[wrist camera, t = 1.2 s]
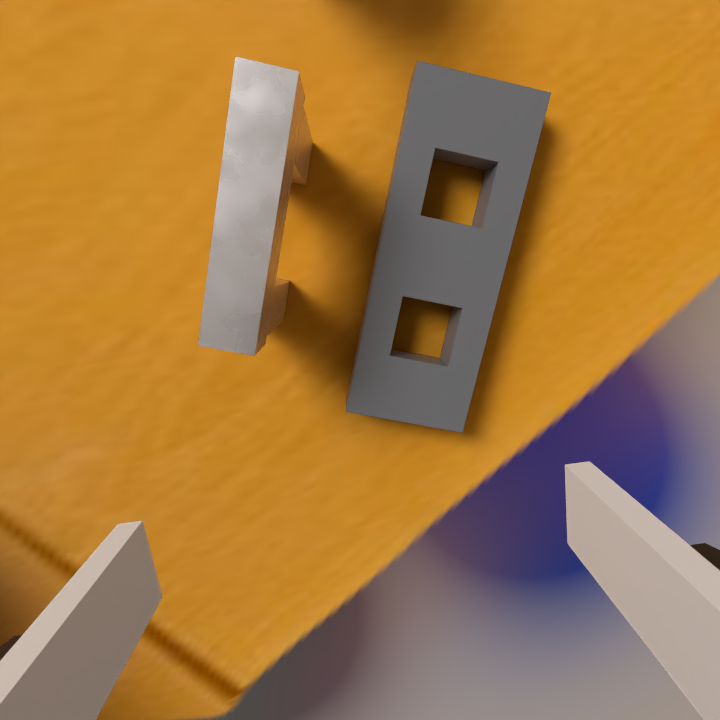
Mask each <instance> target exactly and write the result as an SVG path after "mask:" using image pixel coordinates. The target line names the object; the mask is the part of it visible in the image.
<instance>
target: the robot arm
mask: <svg viewBox="0 0 720 720" xmlns="http://www.w3.org/2000/svg"><path fill="white" fill-rule="evenodd" d="M565 481H566V482H565V484H566V511H567V512H566V513H567V542H568V545H569V546H570V547H571V549H572V550H573V551H574V553H576V555H577V556H578V558H579V559H580V560H581V562H582V563H583V564H584V565H585V567H586V568H587V569H588V571H590V573H591V574H592V576H593V577H594V578H595V580H596V581H597V582H598V584H599V585H600V586H601V587H602V589H603V590H604V591H605V593H606V594H607V595H608V596H609V598H610V599H611V600H612V602H613V603H614V604H615V606H616V607H617V608H618V609H619V611H620V612H621V613H622V615H623V616H624V617H625V618H626V620H627V621H628V622H629V624H630V625H631V626H632V627H633V629H634V630H635V631H636V633H637V634H638V635H639V637H640V638H641V639H642V640H643V642H644V643H645V644H646V646H647V647H648V648H649V649H650V651H651V652H652V653H653V655H654V656H655V657H656V659H657V660H658V661H659V662H660V664H661V665H662V666H663V667H664V669H665V670H666V671H667V673H668V674H669V675H670V676H671V678H672V679H673V680H674V682H675V683H676V684H677V686H678V687H679V688H680V690H681V691H682V692H683V693H684V695H685V696H686V697H687V698H688V700H689V701H690V702H691V704H692V705H693V706H694V708H695V709H696V710H697V711H698V713H699V714H700V715H701V717H702V718H703V719H704V720H720V550H718V549H716V548H714V547H712V546H710V545H708V544H706V543H703V544H695V545H689V544H687V543H686V542H685V541H684V540H683V539H681V538H680V537H679V536H678V535H677V534H675V533H674V532H673V531H672V530H671V529H669V528H668V527H667V526H666V525H665V524H664V523H662V522H661V521H660V520H659V519H657V518H656V517H655V516H654V515H653V514H652V513H650V512H649V511H648V510H647V509H646V508H644V507H643V506H642V505H641V504H639V503H638V502H637V501H636V500H635V499H634V498H632V497H631V496H630V495H629V494H627V492H625V491H624V490H623V489H621V487H619V486H618V485H617V484H616V483H615V482H613V481H612V480H611V479H610V478H608V477H607V476H606V475H605V474H604V473H603V472H601V471H600V470H599V469H598V468H597V467H595V466H594V465H593V464H592V463H591V462H582V463H574V464H567V465H565ZM161 599H162V594H161V590H160V586H159V582H158V578H157V575H156V571H155V567H154V563H153V559H152V555H151V551H150V548H149V544H148V540H147V536H146V532H145V528H144V524H143V521H137V522H129V523H122V524H117V526H116V527H115V528H114V529H113V530H112V531H111V533H110V534H109V535H108V536H107V537H106V538H105V540H104V541H103V542H102V543H101V544H100V545H99V547H98V548H97V549H96V550H95V551H94V552H93V554H92V555H91V556H90V557H89V558H88V559H87V560H86V562H85V563H84V564H83V565H82V566H81V567H80V569H79V570H78V571H77V572H76V573H75V574H74V576H73V577H72V578H71V579H70V580H69V581H68V583H67V584H66V585H65V586H64V587H63V588H62V590H61V591H60V592H59V593H58V594H57V595H56V597H55V598H54V599H53V600H52V601H51V602H50V604H49V605H48V606H47V607H46V608H45V609H44V611H43V612H42V613H41V614H40V615H39V616H38V617H37V619H36V620H35V621H34V622H33V623H32V624H31V626H30V627H29V628H28V629H27V630H26V631H25V633H24V634H23V635H20V636H14V637H13V638H11V639H10V640H9V641H8V642H6V643H5V644H4V645H2V646H1V647H0V720H96V719H97V717H98V715H99V713H100V711H101V709H102V708H103V706H104V704H105V702H106V700H107V698H108V696H109V695H110V693H111V691H112V689H113V687H114V685H115V684H116V682H117V680H118V678H119V676H120V674H121V673H122V671H123V669H124V667H125V665H126V663H127V661H128V660H129V658H130V656H131V654H132V652H133V650H134V649H135V647H136V645H137V643H138V641H139V639H140V638H141V636H142V634H143V632H144V630H145V628H146V626H147V625H148V623H149V621H150V619H151V617H152V615H153V614H154V612H155V610H156V608H157V606H158V604H159V603H160V601H161Z"/></svg>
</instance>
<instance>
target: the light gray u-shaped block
mask: <svg viewBox="0 0 720 720" xmlns="http://www.w3.org/2000/svg"><path fill="white" fill-rule="evenodd" d="M304 100H305V94H304V90H303V86H302V82H301V78H300V74H299V71H295V70H291V69H287V68H283V67H278V66H274V65H270V64H265V63H261V62H257V61H253V60H248V59H244V58H240V57H236V56H235V64H234V72H233V80H232V87H231V95H230V103H229V111H228V118H227V126H226V134H225V141H224V149H223V157H222V165H221V172H220V180H219V188H218V196H217V203H216V211H215V219H214V227H213V234H212V242H211V250H210V257H209V265H208V273H207V281H206V288H205V296H204V304H203V312H202V319H201V327H200V335H199V343H198V346H204V347H209V348H215V349H220V350H225V351H231V352H236V353H241V354H247V355H252V356H255V355H256V354H257V353H258V352H259V351H260V350H261V348H262V347H263V346H264V345H265V344H266V338H267V335H268V334H269V333H270V332H271V331H272V330H273V329H274V328H275V327H276V326H277V325H278V324H279V323H280V322H281V321H282V320H283V319H284V314H285V308H286V302H287V296H288V290H289V284H290V281H289V280H284V279H279V278H276V275H277V269H278V263H279V256H280V250H281V244H282V238H283V232H284V225H285V219H286V213H287V207H288V200H289V194H290V188H291V183H296V184H300V185H305V186H306V182H307V176H308V170H309V164H310V158H311V152H312V146H313V140H312V137H311V133H310V129H309V125H308V122H307V118H306V114H305V110H304Z"/></svg>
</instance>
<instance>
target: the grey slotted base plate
mask: <svg viewBox="0 0 720 720" xmlns="http://www.w3.org/2000/svg"><path fill="white" fill-rule="evenodd" d="M550 95H551V93H550V92H546V91H541V90H537V89H533V88H529V87H525V86H521V85H516V84H512V83H508V82H504V81H500V80H496V79H492V78H487V77H483V76H479V75H475V74H471V73H467V72H462V71H458V70H454V69H450V68H446V67H442V66H437V65H433V64H429V63H425V62H421V61H417V64H416V67H415V69H414V72H413V75H412V77H411V81H410V86H409V91H408V96H407V101H406V106H405V111H404V116H403V121H402V126H401V131H400V136H399V141H398V145H397V150H396V155H395V160H394V165H393V170H392V175H391V180H390V185H389V190H388V195H387V200H386V205H385V210H384V215H383V220H382V225H381V230H380V235H379V239H378V244H377V249H376V254H375V259H374V264H373V269H372V274H371V279H370V284H369V289H368V294H367V299H366V304H365V309H364V314H363V319H362V324H361V329H360V333H359V338H358V343H357V348H356V353H355V358H354V363H353V368H352V373H351V378H350V383H349V388H348V393H347V398H346V412H350V413H356V414H361V415H367V416H372V417H378V418H383V419H389V420H395V421H400V422H406V423H411V424H417V425H422V426H428V427H434V428H439V429H445V430H450V431H456V432H461V433H463V429H464V425H465V421H466V417H467V413H468V410H469V406H470V402H471V398H472V394H473V390H474V387H475V383H476V379H477V375H478V371H479V367H480V364H481V360H482V356H483V352H484V348H485V344H486V341H487V337H488V333H489V329H490V325H491V321H492V318H493V314H494V310H495V306H496V302H497V298H498V295H499V291H500V287H501V283H502V279H503V275H504V272H505V268H506V264H507V260H508V256H509V252H510V249H511V245H512V241H513V237H514V233H515V229H516V226H517V222H518V218H519V214H520V210H521V206H522V203H523V199H524V195H525V191H526V187H527V183H528V180H529V176H530V172H531V168H532V164H533V160H534V157H535V153H536V149H537V145H538V141H539V137H540V134H541V130H542V126H543V122H544V118H545V114H546V111H547V107H548V103H549V99H550ZM433 159H437V160H442V161H446V162H450V163H455V164H459V165H464V166H468V167H473V168H477V169H482V170H485V173H484V177H483V182H482V186H481V190H480V194H479V198H478V202H477V206H476V211H475V215H474V219H473V223H472V226H468V225H463V224H459V223H454V222H449V221H445V220H440V219H435V218H431V217H426V216H421V210H422V206H423V201H424V197H425V192H426V188H427V183H428V178H429V174H430V169H431V165H432V160H433ZM403 296H405V297H410V298H415V299H420V300H425V301H430V302H435V303H440V304H445V305H450V306H452V310H451V314H450V318H449V322H448V327H447V331H446V335H445V339H444V343H443V347H442V351H441V356H440V358H436V357H431V356H426V355H420V354H415V353H410V352H405V351H400V350H394V349H391V348H392V343H393V339H394V334H395V330H396V325H397V320H398V316H399V311H400V307H401V302H402V298H403Z"/></svg>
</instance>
